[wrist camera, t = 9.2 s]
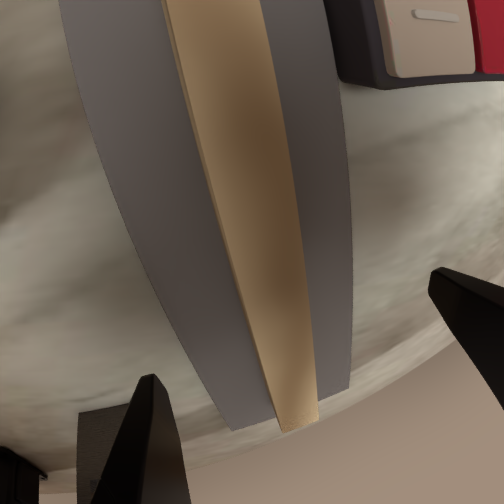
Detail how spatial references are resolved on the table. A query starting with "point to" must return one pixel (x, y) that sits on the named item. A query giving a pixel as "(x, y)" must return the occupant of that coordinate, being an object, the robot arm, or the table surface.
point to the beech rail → (250, 187)
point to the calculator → (416, 41)
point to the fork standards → (95, 447)
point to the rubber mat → (197, 194)
